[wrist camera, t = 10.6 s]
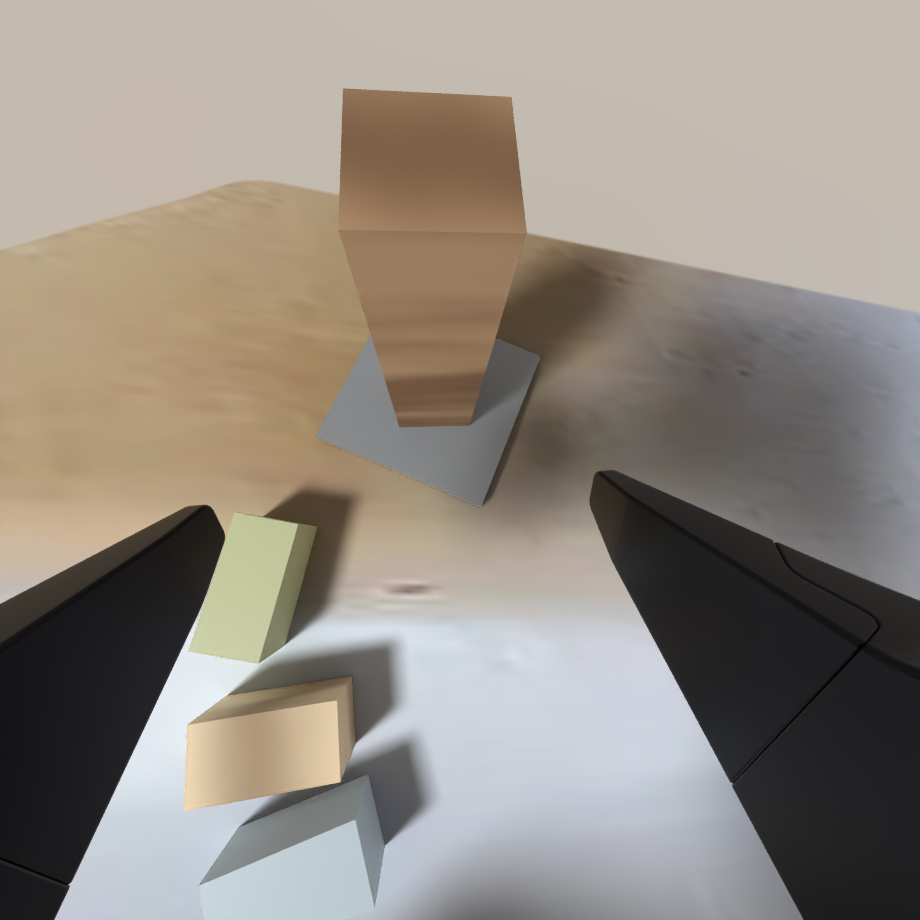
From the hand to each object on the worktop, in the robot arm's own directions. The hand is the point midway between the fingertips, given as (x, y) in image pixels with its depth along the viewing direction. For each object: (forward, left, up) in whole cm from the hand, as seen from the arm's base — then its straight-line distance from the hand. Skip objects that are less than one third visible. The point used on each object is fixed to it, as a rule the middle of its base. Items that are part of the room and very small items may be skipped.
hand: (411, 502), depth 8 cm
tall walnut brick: (+3, -7, -11) cm, 13 cm away
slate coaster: (+2, -7, -12) cm, 14 cm away
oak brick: (+2, +11, -12) cm, 16 cm away
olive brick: (+6, +6, -12) cm, 14 cm away
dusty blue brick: (-1, +15, -12) cm, 19 cm away
